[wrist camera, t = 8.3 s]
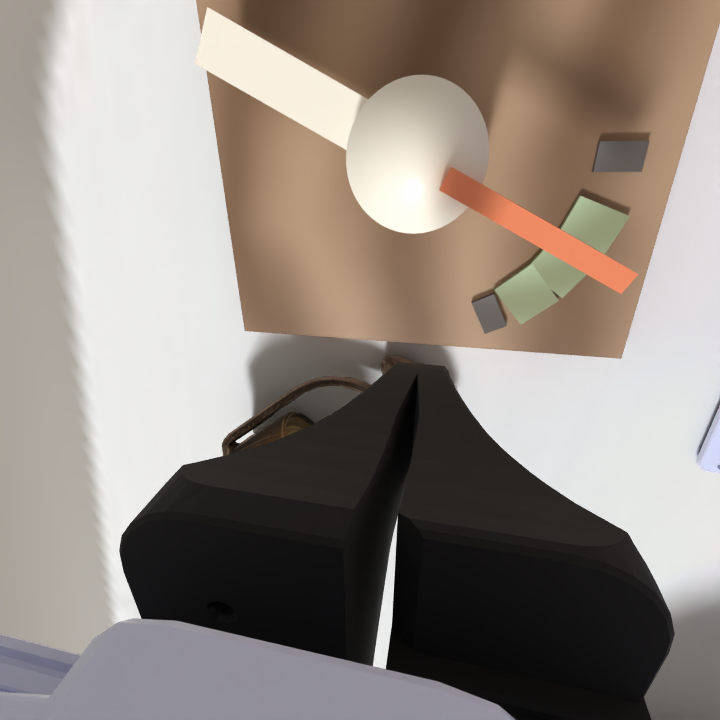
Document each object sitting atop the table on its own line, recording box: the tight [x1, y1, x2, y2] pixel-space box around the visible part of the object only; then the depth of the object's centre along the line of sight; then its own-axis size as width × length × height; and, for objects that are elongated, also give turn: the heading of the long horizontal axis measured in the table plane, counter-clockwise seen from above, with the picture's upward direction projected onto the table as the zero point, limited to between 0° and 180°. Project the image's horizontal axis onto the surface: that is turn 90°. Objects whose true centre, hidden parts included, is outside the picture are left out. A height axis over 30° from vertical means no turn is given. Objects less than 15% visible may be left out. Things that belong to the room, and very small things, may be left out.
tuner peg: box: [195, 7, 639, 294], centre depth 14 cm, size 16×4×5 cm, turn 64°
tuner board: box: [196, 0, 720, 358], centre depth 16 cm, size 18×18×2 cm
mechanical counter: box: [222, 355, 412, 456], centre depth 22 cm, size 7×13×10 cm
